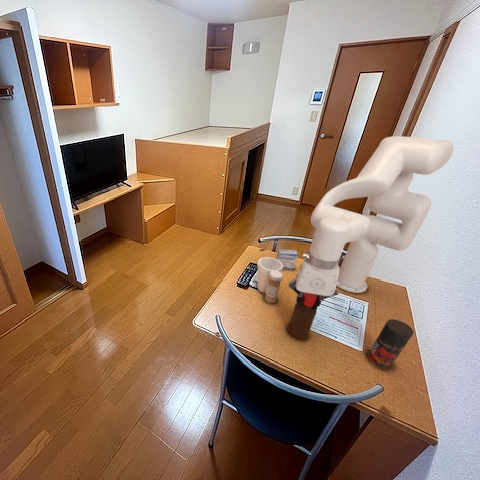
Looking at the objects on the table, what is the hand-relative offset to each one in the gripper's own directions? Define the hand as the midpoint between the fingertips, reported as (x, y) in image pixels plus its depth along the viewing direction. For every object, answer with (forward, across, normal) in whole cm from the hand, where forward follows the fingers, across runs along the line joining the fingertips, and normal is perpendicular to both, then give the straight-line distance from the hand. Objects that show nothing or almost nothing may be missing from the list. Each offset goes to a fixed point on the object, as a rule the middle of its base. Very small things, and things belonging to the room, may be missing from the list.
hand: (306, 304), depth 84 cm
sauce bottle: (+14, 0, 0) cm, 14 cm away
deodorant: (+14, +23, -4) cm, 27 cm away
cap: (-1, 0, 0) cm, 1 cm away
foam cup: (+14, -11, +21) cm, 28 cm away
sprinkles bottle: (+14, -9, +15) cm, 22 cm away
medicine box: (+14, -2, +40) cm, 43 cm away
